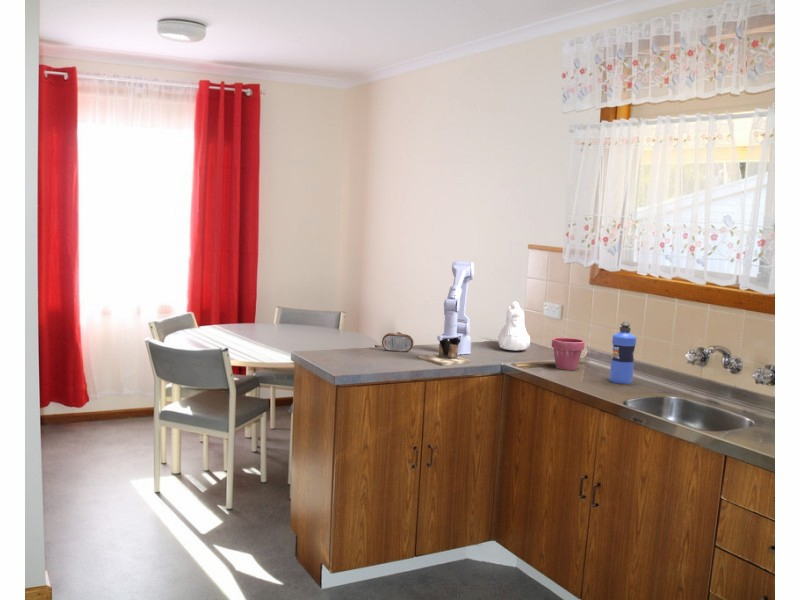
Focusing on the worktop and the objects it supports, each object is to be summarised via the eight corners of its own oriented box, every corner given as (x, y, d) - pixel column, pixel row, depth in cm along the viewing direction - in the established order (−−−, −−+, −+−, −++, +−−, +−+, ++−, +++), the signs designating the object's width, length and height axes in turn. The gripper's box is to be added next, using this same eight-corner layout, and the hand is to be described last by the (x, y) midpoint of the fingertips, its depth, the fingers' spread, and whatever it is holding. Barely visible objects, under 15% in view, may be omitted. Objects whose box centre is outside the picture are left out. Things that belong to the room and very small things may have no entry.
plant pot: (554, 363, 329) (556, 335, 328) (585, 367, 323) (587, 339, 322) (546, 368, 316) (548, 340, 315) (578, 372, 311) (580, 343, 309)
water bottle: (626, 379, 302) (630, 320, 299) (636, 384, 293) (641, 323, 290) (605, 378, 301) (610, 320, 298) (615, 384, 292) (620, 323, 289)
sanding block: (444, 355, 331) (445, 342, 330) (457, 358, 325) (458, 345, 324) (438, 356, 328) (439, 343, 327) (451, 359, 322) (452, 346, 321)
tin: (413, 351, 342) (413, 334, 341) (412, 353, 339) (413, 335, 338) (381, 349, 343) (382, 332, 342) (381, 350, 340) (381, 333, 339)
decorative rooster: (528, 354, 348) (532, 304, 345) (496, 352, 351) (499, 301, 348) (530, 346, 372) (534, 298, 369) (500, 343, 375) (503, 296, 372)
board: (445, 355, 336) (445, 353, 336) (470, 362, 322) (470, 360, 322) (418, 357, 327) (418, 355, 327) (442, 365, 313) (442, 363, 313)
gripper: (455, 323, 332) (453, 351, 334) (433, 325, 322) (431, 354, 324) (466, 325, 327) (464, 354, 328) (444, 327, 317) (442, 357, 319)
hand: (449, 354), depth 326 cm, fingers closed on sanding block, 4 cm apart
